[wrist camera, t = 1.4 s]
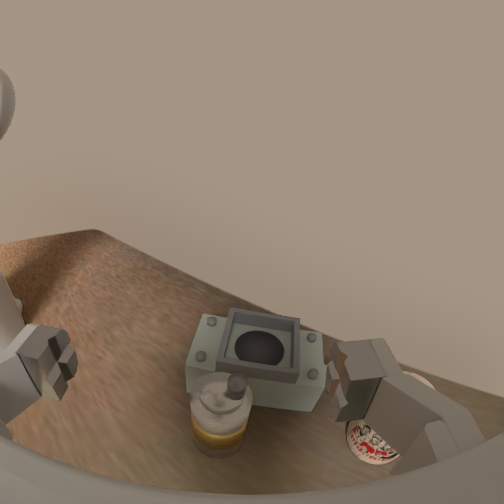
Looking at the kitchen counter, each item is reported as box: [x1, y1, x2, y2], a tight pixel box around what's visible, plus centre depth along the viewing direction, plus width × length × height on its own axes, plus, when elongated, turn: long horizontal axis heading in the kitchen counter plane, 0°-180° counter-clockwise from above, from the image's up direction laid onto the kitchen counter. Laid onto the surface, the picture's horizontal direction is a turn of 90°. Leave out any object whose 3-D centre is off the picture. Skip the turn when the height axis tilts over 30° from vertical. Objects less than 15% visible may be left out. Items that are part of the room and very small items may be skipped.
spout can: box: [190, 372, 253, 458], centre depth 26 cm, size 6×6×13 cm
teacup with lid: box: [347, 371, 435, 464], centre depth 27 cm, size 12×9×12 cm
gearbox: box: [185, 307, 328, 412], centre depth 36 cm, size 20×9×8 cm, turn 83°
